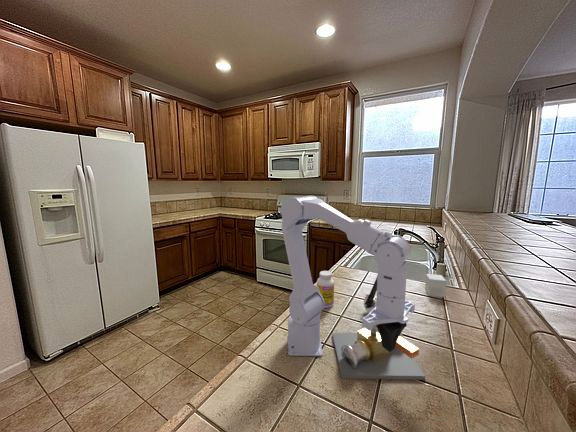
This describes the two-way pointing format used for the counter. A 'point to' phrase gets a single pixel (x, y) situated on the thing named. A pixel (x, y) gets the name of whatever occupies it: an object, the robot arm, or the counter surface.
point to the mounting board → (377, 363)
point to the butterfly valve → (371, 298)
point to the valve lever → (404, 346)
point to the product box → (435, 285)
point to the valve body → (365, 348)
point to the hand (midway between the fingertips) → (387, 348)
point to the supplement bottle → (326, 288)
